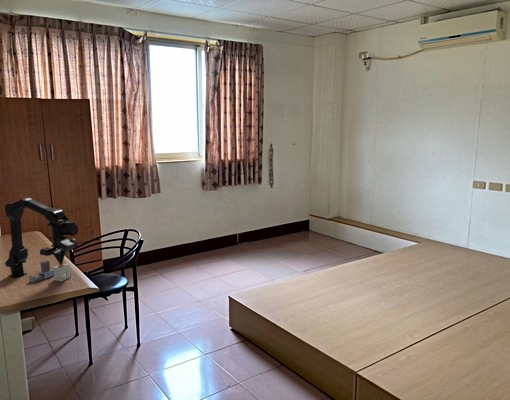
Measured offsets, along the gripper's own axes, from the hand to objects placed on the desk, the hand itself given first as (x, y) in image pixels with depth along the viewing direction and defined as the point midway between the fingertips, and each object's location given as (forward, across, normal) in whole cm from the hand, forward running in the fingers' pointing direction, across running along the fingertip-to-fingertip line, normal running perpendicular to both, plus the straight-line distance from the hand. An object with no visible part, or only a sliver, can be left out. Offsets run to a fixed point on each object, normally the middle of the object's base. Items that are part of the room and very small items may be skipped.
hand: (60, 264), depth 223 cm
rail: (+8, -4, +10) cm, 14 cm away
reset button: (+4, 0, 0) cm, 4 cm away
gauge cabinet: (+8, 0, 0) cm, 8 cm away
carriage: (+8, -1, +10) cm, 13 cm away
